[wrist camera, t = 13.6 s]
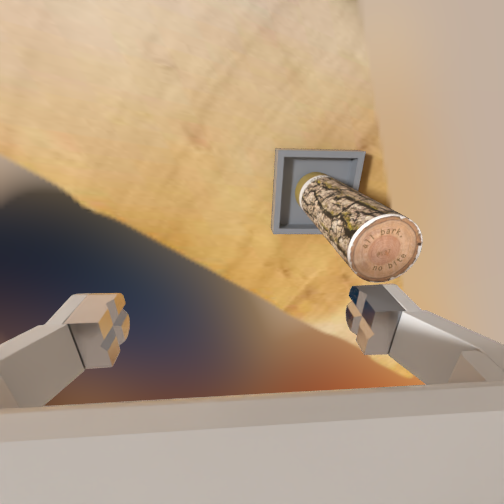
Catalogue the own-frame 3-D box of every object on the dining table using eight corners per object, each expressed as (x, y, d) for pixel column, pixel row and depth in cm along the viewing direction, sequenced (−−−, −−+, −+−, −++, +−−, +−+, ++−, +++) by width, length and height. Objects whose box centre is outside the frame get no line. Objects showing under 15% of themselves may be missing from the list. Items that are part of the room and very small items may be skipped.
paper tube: (290, 176, 46) (346, 225, 23) (330, 166, 46) (424, 207, 23) (297, 213, 49) (351, 289, 26) (333, 204, 49) (421, 273, 26)
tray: (275, 148, 44) (278, 149, 42) (357, 150, 45) (365, 151, 43) (270, 228, 50) (273, 233, 48) (343, 228, 51) (349, 233, 49)
